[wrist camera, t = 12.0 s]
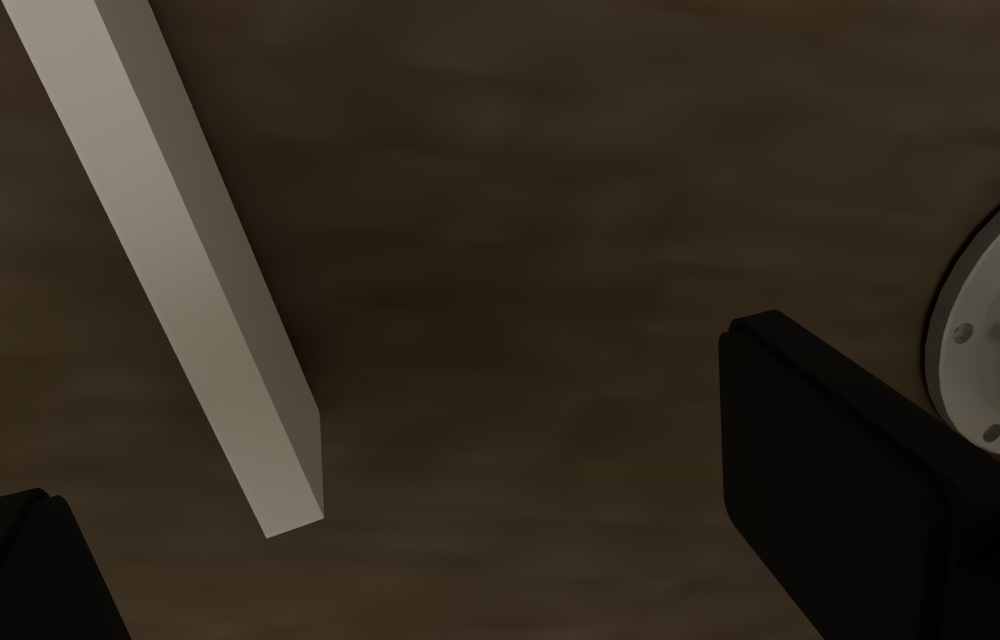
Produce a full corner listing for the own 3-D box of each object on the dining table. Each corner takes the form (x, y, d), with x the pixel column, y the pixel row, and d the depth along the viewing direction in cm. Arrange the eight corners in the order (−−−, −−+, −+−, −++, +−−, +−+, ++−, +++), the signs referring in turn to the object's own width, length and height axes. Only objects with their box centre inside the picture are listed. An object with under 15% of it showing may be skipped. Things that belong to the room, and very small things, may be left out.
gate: (10, -127, 18) (-99, -169, 13) (97, -149, 18) (21, -199, 13) (265, 431, 25) (256, 542, 20) (327, 410, 25) (333, 514, 20)
